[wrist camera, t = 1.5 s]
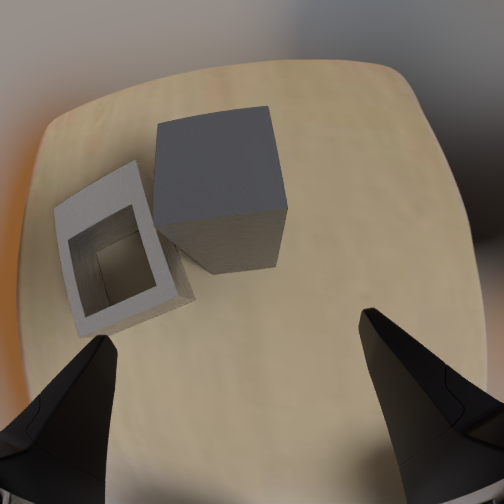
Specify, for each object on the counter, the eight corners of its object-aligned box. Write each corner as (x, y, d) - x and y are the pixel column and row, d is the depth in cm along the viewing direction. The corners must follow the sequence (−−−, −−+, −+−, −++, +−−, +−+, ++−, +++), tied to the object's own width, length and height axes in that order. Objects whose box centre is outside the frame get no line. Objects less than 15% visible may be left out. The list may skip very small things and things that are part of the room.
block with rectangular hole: (195, 299, 22) (178, 295, 17) (108, 335, 21) (79, 337, 17) (154, 183, 24) (135, 159, 20) (80, 223, 24) (53, 208, 19)
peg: (275, 267, 22) (287, 208, 10) (213, 274, 22) (153, 226, 10) (267, 208, 23) (268, 105, 11) (208, 216, 23) (157, 123, 11)
